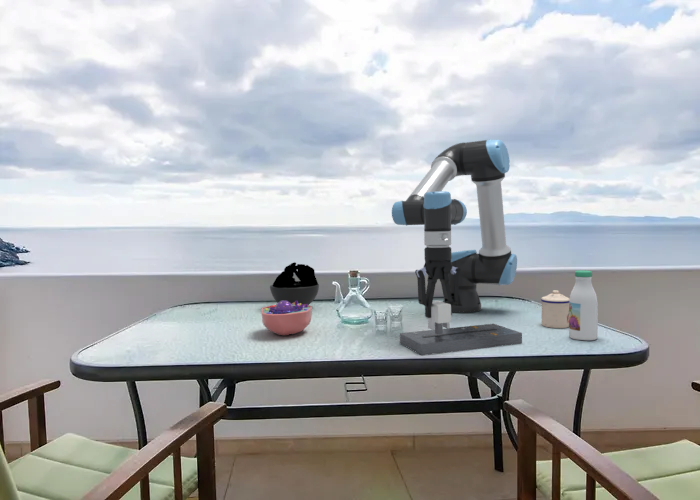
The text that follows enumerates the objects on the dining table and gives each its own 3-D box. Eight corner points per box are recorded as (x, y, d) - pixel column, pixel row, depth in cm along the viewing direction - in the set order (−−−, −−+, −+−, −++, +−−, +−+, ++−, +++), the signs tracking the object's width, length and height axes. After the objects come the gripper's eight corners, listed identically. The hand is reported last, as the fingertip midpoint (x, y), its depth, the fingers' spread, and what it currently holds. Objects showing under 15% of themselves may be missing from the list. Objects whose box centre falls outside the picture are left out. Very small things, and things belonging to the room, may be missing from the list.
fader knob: (426, 331, 148) (426, 301, 147) (439, 330, 149) (438, 300, 148) (438, 337, 141) (438, 305, 140) (451, 335, 142) (450, 304, 142)
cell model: (320, 327, 174) (319, 294, 173) (303, 341, 154) (302, 304, 153) (273, 326, 177) (272, 294, 176) (250, 340, 158) (249, 303, 157)
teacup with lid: (574, 328, 162) (574, 292, 162) (545, 328, 163) (545, 292, 163) (563, 321, 174) (563, 287, 174) (535, 321, 175) (535, 287, 175)
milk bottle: (595, 335, 153) (596, 269, 151) (599, 341, 145) (599, 272, 144) (567, 334, 155) (568, 269, 154) (569, 340, 148) (570, 272, 147)
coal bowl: (308, 314, 197) (307, 266, 195) (262, 312, 203) (260, 265, 202) (326, 305, 216) (325, 261, 214) (283, 304, 222) (282, 261, 220)
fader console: (399, 343, 149) (399, 332, 149) (493, 333, 159) (493, 323, 159) (421, 355, 136) (421, 343, 135) (522, 343, 146) (522, 332, 146)
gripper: (416, 248, 137) (417, 333, 139) (471, 245, 142) (472, 328, 144) (404, 246, 144) (405, 328, 146) (457, 244, 150) (458, 323, 151)
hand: (438, 328), depth 145 cm, fingers closed on fader knob, 4 cm apart
